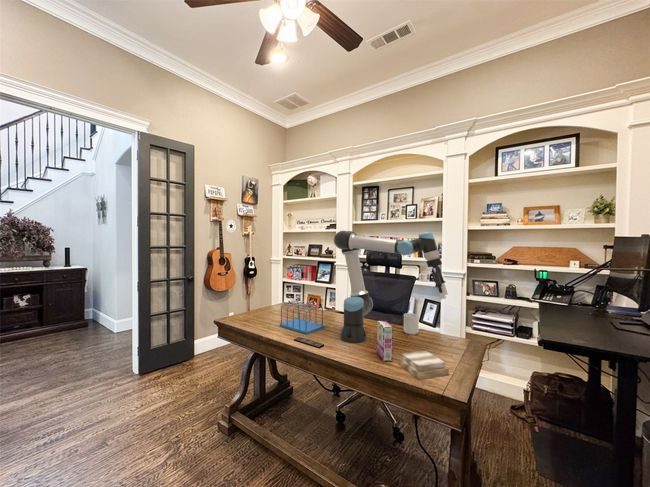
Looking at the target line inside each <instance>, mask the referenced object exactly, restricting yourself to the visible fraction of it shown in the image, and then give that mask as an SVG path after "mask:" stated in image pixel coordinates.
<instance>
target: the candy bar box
mask: <svg viewBox="0 0 650 487" xmlns="http://www.w3.org/2000/svg"><path fill="white" fill-rule="evenodd" d="M376 323H377V324H376V325H377V328H376V329H377V330H376V333H377V334H376V353H377V355H378V356H379V358H380V359H381V360H382V361H383V362H393V350H394V347H393V346H394V345H393V344H394V343H393V342H394V341H393V340H394V327H393V325H391V324H390V323H389V322H388V321H387V320H377V322H376Z"/></svg>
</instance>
